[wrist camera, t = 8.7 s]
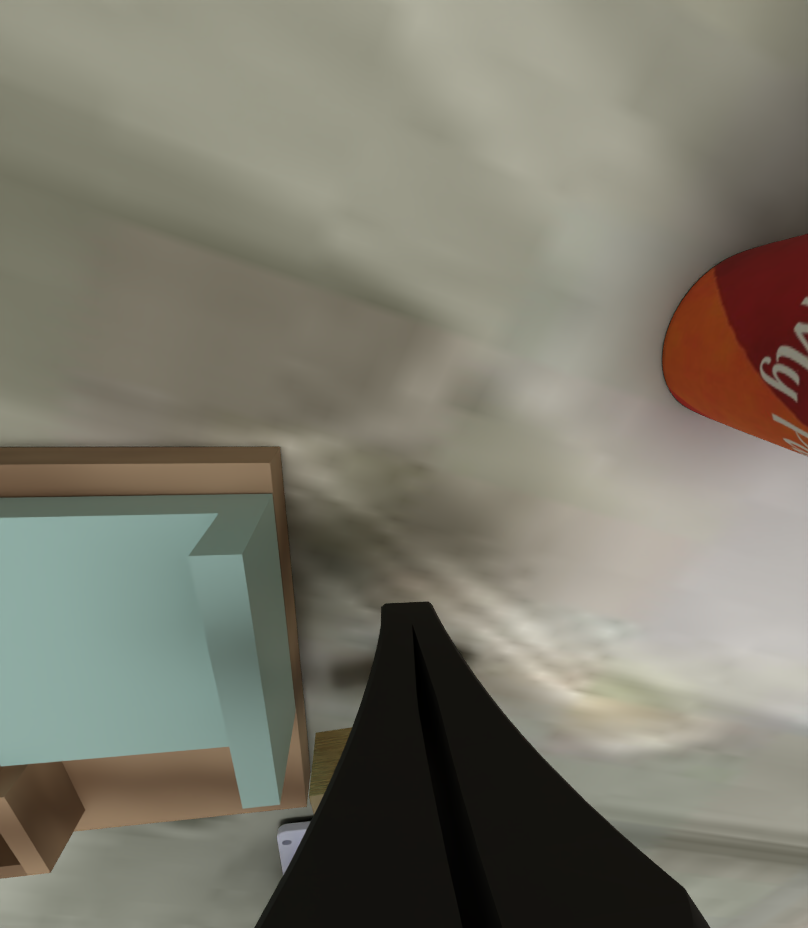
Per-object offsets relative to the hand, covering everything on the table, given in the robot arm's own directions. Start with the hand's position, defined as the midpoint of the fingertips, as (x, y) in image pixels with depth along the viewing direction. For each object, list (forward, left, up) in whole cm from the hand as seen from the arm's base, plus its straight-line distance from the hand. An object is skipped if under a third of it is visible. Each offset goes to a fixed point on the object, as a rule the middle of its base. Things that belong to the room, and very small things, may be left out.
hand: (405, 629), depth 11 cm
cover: (-2, +9, -3) cm, 10 cm away
